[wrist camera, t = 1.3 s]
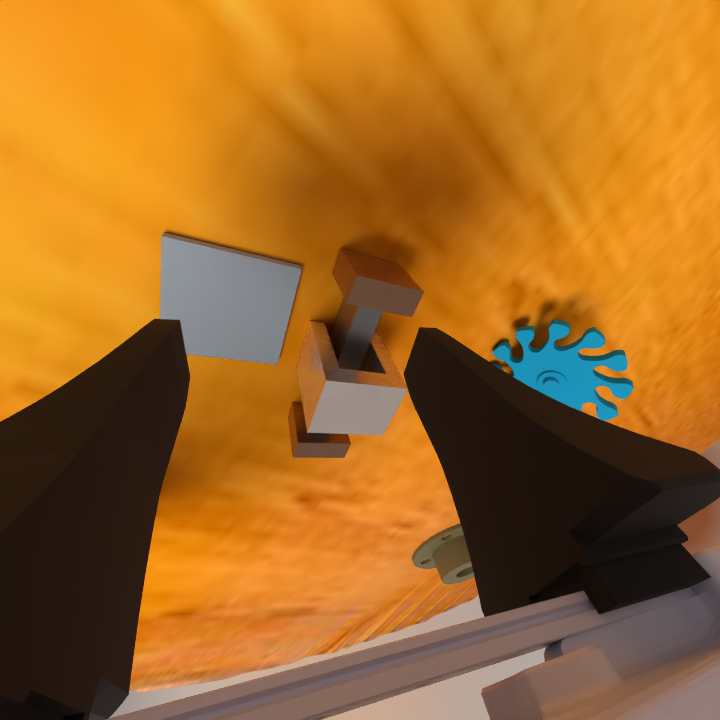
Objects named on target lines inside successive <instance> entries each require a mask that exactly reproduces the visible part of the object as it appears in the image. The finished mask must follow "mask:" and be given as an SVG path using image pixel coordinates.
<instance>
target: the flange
mask: <svg viewBox="0 0 720 720" xmlns="http://www.w3.org/2000/svg"><path fill="white" fill-rule="evenodd" d="M446 535H448V536H446ZM444 536H446V537H444ZM426 559H427V560H426ZM412 560H413V563H414V565H415V566H416V567H419V568H423V569H431V568H437V570H438V572H439V575H440V577H441V580H442V582H443V583H444V584H454V583H459V582H462V581H465V580H468V579H470V578H472V577H474V572H473V568H472V564H471V559H470V555H469V552H468V548H467V544H466V541H465V537H464V533H463V530H462V526H461V524H458V525H455V526H452V527H450V528H447V529H445V530H443V531H441V532H439V533H437V534H435V535H434V536H432V537H430V538H429V539H427V540H426V541H425V542H423V543H422V544H421V545H420V546H419V547H418V548H417V549H416V550H415V552H414V554H413V556H412Z"/></svg>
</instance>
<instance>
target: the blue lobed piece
mask: <svg viewBox="0 0 720 720" xmlns="http://www.w3.org/2000/svg"><path fill="white" fill-rule="evenodd" d="M569 331H570V324H568V323H567V322H564V321H560V320H555V319H554V320H553V321H552V322H551V323H550V326H549V338H548V340H547V341H546V343H545V344H544V345H543V346H542V347H540V348H533V347H532V346H531V345H530V342H531V341H532V340H533V338H534V335H535V329H534V327H533V326H524V327H520V328H518V329H517V331H516V335H515V336H516V339H517V340H518V341H519V342H520V344H521V345H522V347H523V352H524V355H523V357H522V358H519V359H517V358H514V357H513V356H512V355H511V345H510V344H509V343H508V342H506V341H505V342H502V343H500V344H499V345H498V346H497V347H496V348H495V349H494V351H493V354H494V356H495V357H496V358H498V359H501V360H503V361H505V362H506V363H507V364H508V365H509V366H510V367H511V368H512V370H513V372H514V373H513V374H509V375H511V376H512V377H514V378H516V379H517V380H519V381H521V382H523V383H524V384H526V385H528V386H530V387H532V388H533V389H535V390H537V391H539V392H541V393H543V394H545V395H547V396H549V397H551V398H553V399H555V400H557V401H559V402H561V403H563V404H565V405H568V406H570V407H572V408H574V409H577V410H579V411H581V408H582V405H583V404H584V403H586V402H592V403H594V404H596V405H597V407H596V410H597V416H598V418H599V419H601V420H603V421H604V420H609V419H611V418H614V417H616V416H617V415H618V411H617V407H616V405H615V404H613V403H612V402H609V401H607V400H605V399H603V398H602V397H601V396H600V395H598V393H597V392H596V390H595V388H596V387H598V386H606V387H608V388H610V390H611V391H612V393H613V395H614V396H616V397H617V398H621V399H625V398H626V397H628V396H629V395H630V393H631V392H632V390H633V388H634V387H633V383H632V381H631V380H629V379H627V378H612V377H607V376H604V375H602V374H600V373H598V372H597V371H595V370H594V368H595V367H597V366H600V365H603V366H606V367H608V368H610V369H612V370H614V371H624V370H626V369H627V359H626V355H625V352H624V351H623V350H615V351H612V352H610V353H608V354H605V355H601V356H585V355H581V354H580V353H579V352H578V351H579V350H581V349H583V348H600V347H602V346H603V345H604V344H605V337H604V335H603V334H602V333H601V332H600V331H599V330H598V329H596V328H595V327H593V328H589V329H588V330H586V331H585V333H584V334H583V336H582V337H581V338H580V339H579V340H578V341H576V342H574V343H572V344H570V345H567V346H563V347H560V346H557V345H556V344H555V343H554V342H555V341H556V340H558V339H561V338H563V337H565V336H567V335H568V333H569ZM493 365H495V366H496V367H498V368H499V369H501V370H502V371H503V369H502V368H501V366H500V365H498V364H494V363H493ZM581 412H582V411H581Z"/></svg>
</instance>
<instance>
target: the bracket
mask: <svg viewBox="0 0 720 720" xmlns="http://www.w3.org/2000/svg"><path fill="white" fill-rule="evenodd" d="M296 368H297V374H298V380H299V386H300V392H301V398H302V404H303V410H304V416H305V422H306V428H307V433H334V434H363V435H383V434H384V432H385V430H386V429H387V427H388V425H389V423H390V421H391V419H392V418H393V416H394V414H395V412H396V410H397V408H398V407H399V405H400V403H401V401H402V399H403V397H404V396H405V394H406V392H407V390H408V388H407V386H406V384H405V382H404V380H403V379H402V377H401V375H400V373H399V371H398V369H397V368H396V366H395V364H394V362H393V360H392V358H391V357H390V355H389V353H388V351H387V349H386V347H385V346H384V344H383V342H382V340H381V338H380V336H379V335H378V333H377V332H374V334H373V337H372V339H371V342H370V344H369V346H368V349H367V351H366V353H365V356H364V358H363V360H362V363H361V365H360V367H359V370H358V371H357V370H349V369H341V368H339V365H338V362H337V359H336V356H335V353H334V350H333V347H332V344H331V341H330V338H329V335H328V332H327V329H326V326H325V323H323V322H318V321H312V320H310V323H309V326H308V329H307V333H306V336H305V340H304V343H303V346H302V350H301V353H300V357H299V360H298V363H297V367H296Z"/></svg>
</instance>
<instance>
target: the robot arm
mask: <svg viewBox="0 0 720 720" xmlns="http://www.w3.org/2000/svg"><path fill="white" fill-rule="evenodd" d="M404 377H405V380H406V384H407V388H408V391H409V394H410V397H411V400H412V402H413V404H414V406H415V409H416V411H417V413H418V415H419V417H420V419H421V422H422V424H423V426H424V428H425V430H426V432H427V434H428V436H429V438H430V440H431V443H432V445H433V447H434V449H435V451H436V453H437V455H438V458H439V460H440V463H441V465H442V468H443V471H444V473H445V476H446V479H447V482H448V485H449V488H450V491H451V494H452V497H453V500H454V503H455V506H456V510H457V513H458V516H459V519H460V523H461V526H462V530H463V533H464V537H465V541H466V544H467V548H468V552H469V555H470V559H471V564H472V568H473V572H474V576H475V581H476V585H477V589H478V594H479V598H480V603H481V608H482V611H483V613H484V616H485V617H484V618H480V619H476V620H472V621H469V622H465V623H461V624H458V625H454V626H450V627H447V628H443V629H439V630H435V631H432V632H428V633H424V634H421V635H417V636H413V637H410V638H406V639H402V640H399V641H395V642H391V643H387V644H384V645H380V646H376V647H373V648H369V649H365V650H362V651H358V652H354V653H350V654H346V655H343V656H339V657H335V658H332V659H328V660H324V661H321V662H317V663H313V664H309V665H306V666H302V667H298V668H295V669H291V670H287V671H284V672H280V673H276V674H273V675H269V676H265V677H262V678H258V679H254V680H250V681H247V682H243V683H239V684H236V685H232V686H228V687H225V688H221V689H217V690H213V691H210V692H206V693H202V694H199V695H195V696H191V697H187V698H184V699H180V700H176V701H172V702H169V703H165V704H161V705H158V706H154V707H150V708H146V709H143V710H139V711H136V712H132V713H128V714H124V715H121V716H117V717H113V718H109V717H110V716H111V715H112V714H113V713H114V712H115V711H116V710H117V708H118V707H119V706H120V705H121V704H122V703H123V701H124V700H125V699H126V697H127V696H128V695H129V687H130V679H131V671H132V663H133V655H134V648H135V640H136V633H137V625H138V618H139V612H140V605H141V599H142V592H143V586H144V579H145V573H146V567H147V561H148V555H149V549H150V543H151V538H152V532H153V527H154V521H155V516H156V511H157V506H158V500H159V495H160V491H161V487H162V483H163V480H164V476H165V473H166V470H167V466H168V463H169V460H170V457H171V453H172V450H173V447H174V444H175V440H176V437H177V434H178V431H179V427H180V424H181V421H182V417H183V414H184V410H185V407H186V401H187V395H188V388H189V381H190V373H189V368H188V362H187V356H186V351H185V345H184V339H183V334H182V328H181V322H180V320H173V319H154V320H152V321H151V322H150V323H148V324H147V325H146V326H144V327H143V328H142V329H140V330H139V331H138V332H137V333H135V334H134V335H133V336H131V337H130V338H129V339H128V340H126V341H125V342H124V343H122V344H121V345H120V346H118V347H117V348H116V349H114V350H113V351H112V352H110V353H109V354H108V355H106V356H105V357H104V358H102V359H101V360H100V361H98V362H97V363H95V364H94V365H92V366H91V367H89V368H88V369H87V370H85V371H84V372H82V373H81V374H79V375H78V376H76V377H75V378H73V379H72V380H70V381H69V382H67V383H66V384H64V385H63V386H61V387H60V388H58V389H57V390H55V391H53V392H52V393H50V394H49V395H47V396H45V397H44V398H42V399H40V400H39V401H37V402H35V403H33V404H32V405H30V406H28V407H26V408H25V409H23V410H21V411H19V412H17V413H16V414H14V415H12V416H10V417H9V418H7V419H5V420H3V421H1V422H0V720H322V719H325V718H328V717H331V716H334V715H337V714H340V713H344V712H347V711H350V710H353V709H356V708H359V707H362V706H365V705H368V704H372V703H375V702H378V701H381V700H384V699H387V698H390V697H393V696H396V695H399V694H402V693H406V692H409V691H412V690H415V689H418V688H421V687H424V686H427V685H431V684H433V683H437V682H440V681H443V680H446V679H449V678H452V677H455V676H458V675H461V674H464V673H468V672H471V671H474V670H477V669H480V668H483V667H486V666H489V665H493V664H496V663H499V662H502V661H505V660H508V659H511V658H514V657H517V656H520V655H524V654H526V653H530V652H533V651H536V650H539V649H542V648H545V647H547V648H546V649H545V653H544V658H545V662H544V663H541V664H538V665H536V666H533V667H531V668H528V669H525V670H523V671H521V672H519V673H517V674H516V675H513V676H511V677H509V678H507V679H504V680H502V681H500V682H497V683H495V684H492V685H490V686H487V687H485V688H483V689H482V693H481V695H482V697H483V700H484V703H485V706H486V709H487V711H488V714H489V717H490V720H720V546H717V547H713V548H709V549H706V550H702V551H700V552H697V553H694V554H692V555H691V554H690V553H689V552H688V551H687V550H686V549H685V548H684V547H683V546H682V545H681V543H684V542H686V541H688V537H687V535H686V534H685V533H684V532H683V531H682V530H681V529H680V528H679V527H678V526H677V524H679V523H681V522H682V521H684V520H686V519H687V518H689V517H690V516H692V515H693V514H695V513H696V512H698V511H700V510H701V509H703V508H705V507H706V506H708V505H709V504H711V503H712V502H713V501H715V500H717V499H718V498H719V497H720V469H718V468H717V467H716V466H715V465H714V464H712V463H711V462H710V461H709V460H707V459H706V458H704V457H702V456H701V455H699V454H698V453H696V452H694V451H691V450H688V449H685V448H682V447H678V446H675V445H672V444H669V443H666V442H662V441H659V440H656V439H653V438H650V437H647V436H643V435H641V434H638V433H635V432H632V431H629V430H627V429H624V428H621V427H618V426H616V425H613V424H610V423H608V422H605V421H603V420H600V419H598V418H595V417H593V416H590V415H588V414H586V413H584V412H581V411H579V410H577V409H574V408H572V407H570V406H568V405H565V404H563V403H561V402H559V401H557V400H555V399H553V398H551V397H549V396H547V395H545V394H543V393H541V392H539V391H537V390H535V389H533V388H532V387H530V386H528V385H526V384H524V383H523V382H521V381H519V380H517V379H516V378H514V377H512V376H511V375H509V374H507V373H506V372H504V371H502V370H501V369H499V368H498V367H496V366H495V365H493V364H491V363H490V362H488V361H487V360H485V359H484V358H482V357H481V356H479V355H478V354H476V353H475V352H473V351H472V350H470V349H469V348H467V347H466V346H464V345H463V344H461V343H460V342H458V341H457V340H455V339H454V338H452V337H451V336H449V335H447V334H446V333H444V332H442V331H441V330H439V329H437V328H419V331H418V334H417V336H416V339H415V342H414V345H413V348H412V351H411V354H410V357H409V360H408V363H407V366H406V368H405V371H404ZM108 718H109V719H108Z"/></svg>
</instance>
